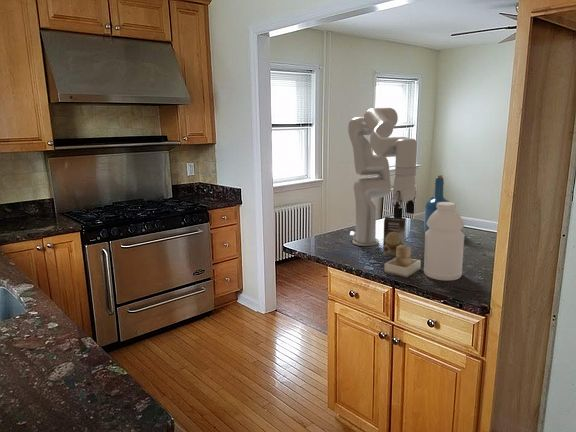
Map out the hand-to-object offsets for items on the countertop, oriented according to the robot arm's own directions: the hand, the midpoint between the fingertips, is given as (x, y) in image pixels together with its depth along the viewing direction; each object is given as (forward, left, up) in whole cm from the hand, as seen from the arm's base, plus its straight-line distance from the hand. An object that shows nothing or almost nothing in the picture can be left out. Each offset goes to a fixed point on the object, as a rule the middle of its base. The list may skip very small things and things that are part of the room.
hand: (404, 215), depth 167 cm
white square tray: (0, -1, -22) cm, 22 cm away
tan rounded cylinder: (0, 0, -22) cm, 22 cm away
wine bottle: (-12, +60, -23) cm, 66 cm away
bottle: (+15, +4, -23) cm, 27 cm away
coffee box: (-13, +16, -23) cm, 31 cm away
